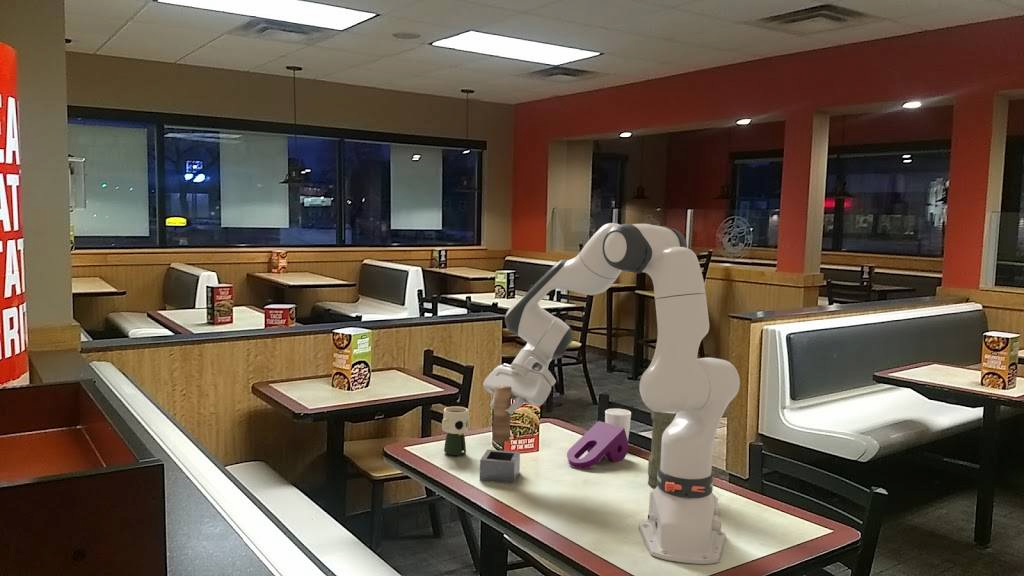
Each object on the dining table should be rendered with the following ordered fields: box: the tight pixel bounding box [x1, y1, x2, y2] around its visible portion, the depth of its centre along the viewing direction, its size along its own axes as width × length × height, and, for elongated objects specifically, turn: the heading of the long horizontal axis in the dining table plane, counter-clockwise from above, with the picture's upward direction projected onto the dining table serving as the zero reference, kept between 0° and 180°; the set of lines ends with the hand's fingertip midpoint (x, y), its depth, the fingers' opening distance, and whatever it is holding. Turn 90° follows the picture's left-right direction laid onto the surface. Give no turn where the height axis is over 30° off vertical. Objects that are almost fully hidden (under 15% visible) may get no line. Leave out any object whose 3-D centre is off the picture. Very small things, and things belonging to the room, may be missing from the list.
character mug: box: [441, 406, 470, 456], centre depth 220 cm, size 11×7×13 cm, turn 141°
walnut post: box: [492, 385, 512, 443], centre depth 202 cm, size 4×4×14 cm
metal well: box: [479, 449, 521, 485], centre depth 203 cm, size 9×9×6 cm
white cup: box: [604, 408, 632, 441], centre depth 236 cm, size 8×8×10 cm
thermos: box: [647, 410, 677, 490], centre depth 199 cm, size 9×12×35 cm
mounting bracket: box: [566, 420, 629, 470], centre depth 219 cm, size 9×8×18 cm
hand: (500, 410), depth 201 cm, fingers closed on walnut post, 4 cm apart
